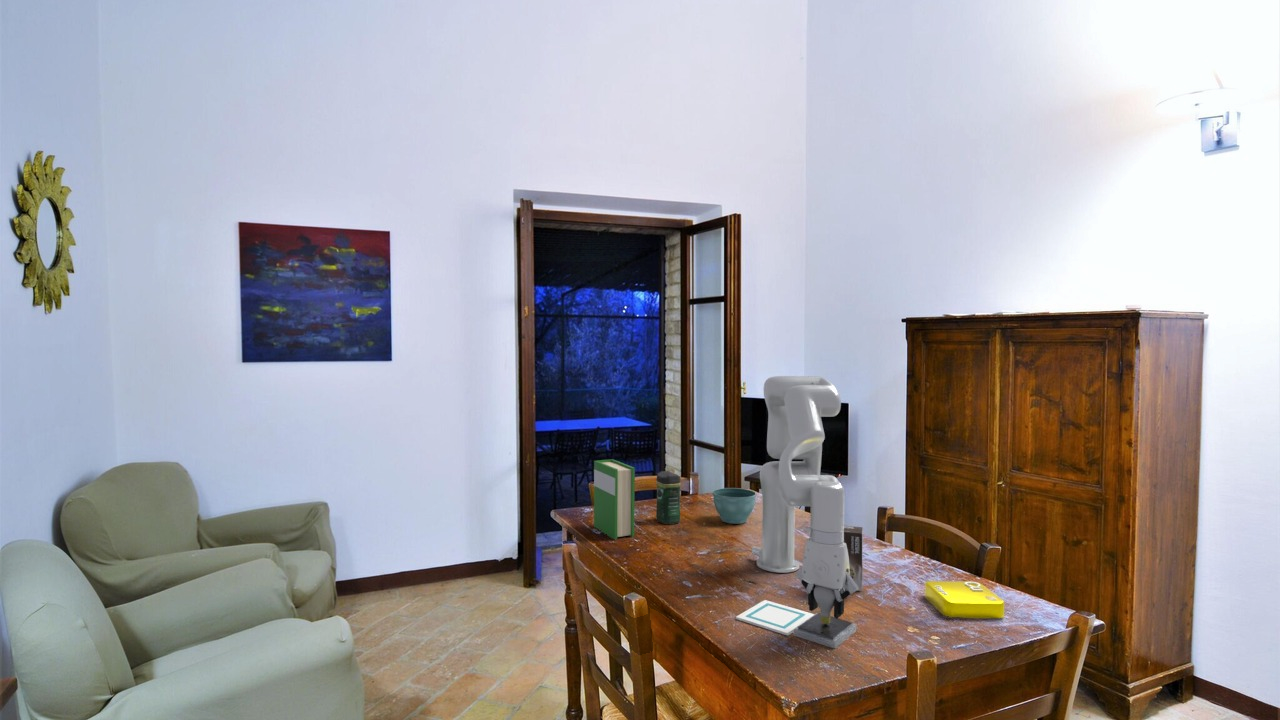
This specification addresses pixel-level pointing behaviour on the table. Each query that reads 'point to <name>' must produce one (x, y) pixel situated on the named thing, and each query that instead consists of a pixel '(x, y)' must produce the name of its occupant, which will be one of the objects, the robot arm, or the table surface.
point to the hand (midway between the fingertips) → (825, 611)
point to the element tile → (964, 599)
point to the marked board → (774, 617)
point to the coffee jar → (668, 497)
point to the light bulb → (825, 602)
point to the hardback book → (614, 498)
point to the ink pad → (825, 630)
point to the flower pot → (734, 504)
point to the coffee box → (855, 553)
